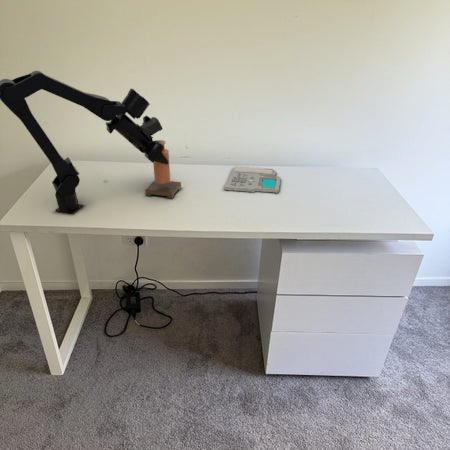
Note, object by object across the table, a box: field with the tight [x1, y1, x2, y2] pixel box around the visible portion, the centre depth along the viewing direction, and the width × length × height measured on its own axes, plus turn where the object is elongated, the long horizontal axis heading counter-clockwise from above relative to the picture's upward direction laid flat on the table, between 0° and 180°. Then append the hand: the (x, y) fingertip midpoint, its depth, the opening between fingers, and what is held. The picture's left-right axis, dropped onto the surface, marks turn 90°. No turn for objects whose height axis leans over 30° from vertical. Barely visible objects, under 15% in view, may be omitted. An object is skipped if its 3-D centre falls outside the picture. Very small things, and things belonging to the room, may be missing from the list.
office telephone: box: [224, 165, 281, 194], centre depth 149 cm, size 23×3×20 cm
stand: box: [144, 179, 182, 200], centre depth 139 cm, size 10×10×2 cm
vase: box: [152, 139, 172, 184], centre depth 133 cm, size 6×6×14 cm
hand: (164, 160), depth 134 cm, fingers closed on vase, 5 cm apart
